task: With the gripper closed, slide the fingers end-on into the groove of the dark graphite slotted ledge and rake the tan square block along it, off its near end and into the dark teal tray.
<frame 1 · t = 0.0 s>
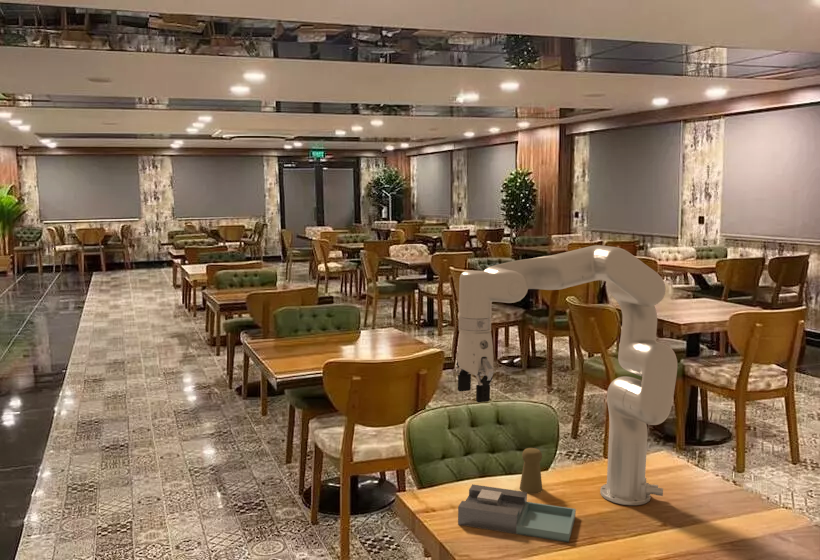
hand: (473, 396, 170), 31 cm above the table, tool pointing down, fingers open, 9 cm apart
slotted ledge: (493, 516, 177), on the table
tan square block: (489, 504, 177), point 3 cm above the table, touching slotted ledge
tray: (546, 525, 173), on the table
brown pepper mill: (531, 489, 194), on the table
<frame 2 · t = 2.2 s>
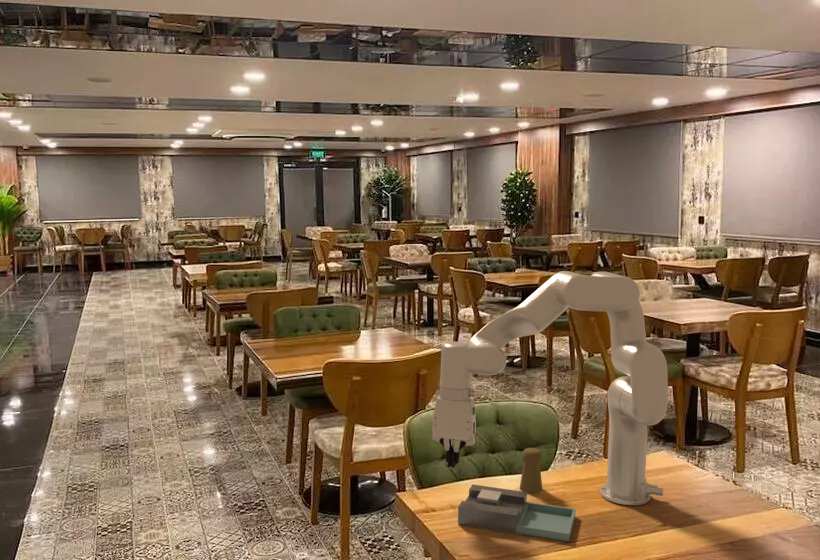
hand: (452, 465, 179), 12 cm above the table, tool pointing down, fingers closed
nothing on the table moved.
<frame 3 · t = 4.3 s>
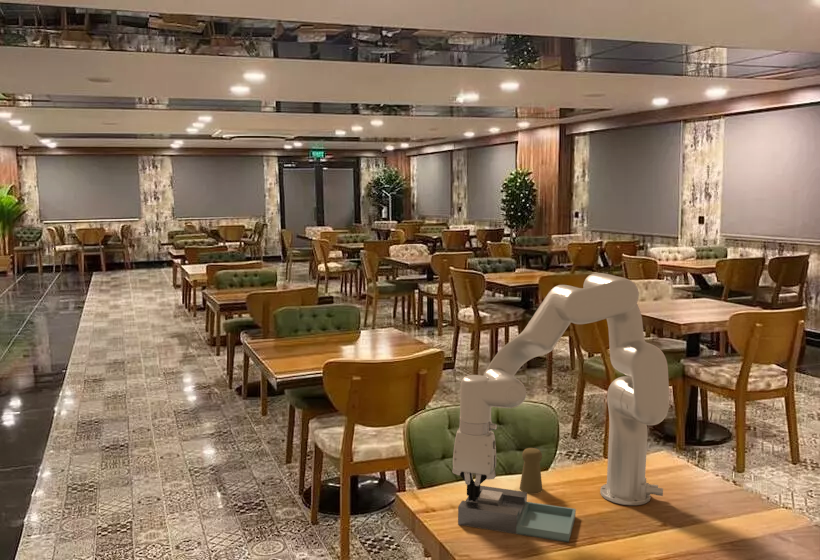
hand: (473, 498, 179), 4 cm above the table, tool pointing down, fingers closed
tan square block: (490, 504, 177), point 3 cm above the table, touching gripper
everything else where it was.
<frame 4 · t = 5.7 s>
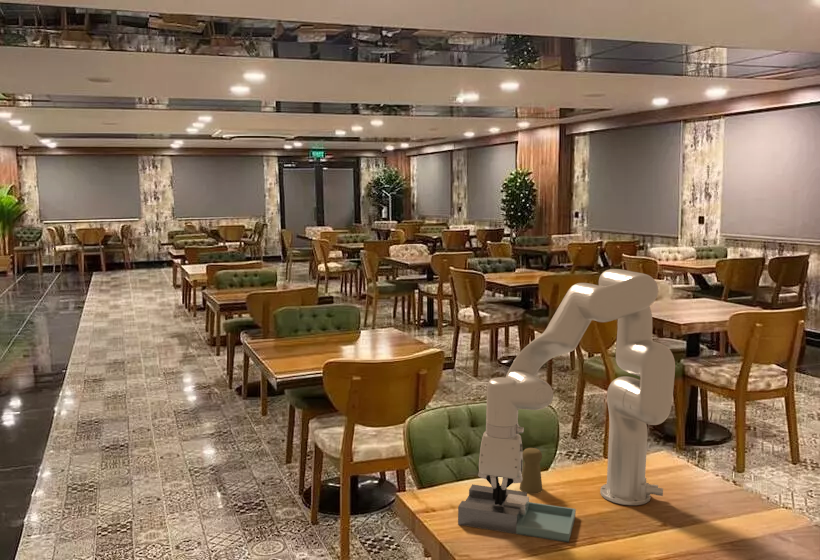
hand: (499, 502, 176), 4 cm above the table, tool pointing down, fingers closed
tan square block: (516, 509, 175), point 3 cm above the table, touching gripper
everything else where it was.
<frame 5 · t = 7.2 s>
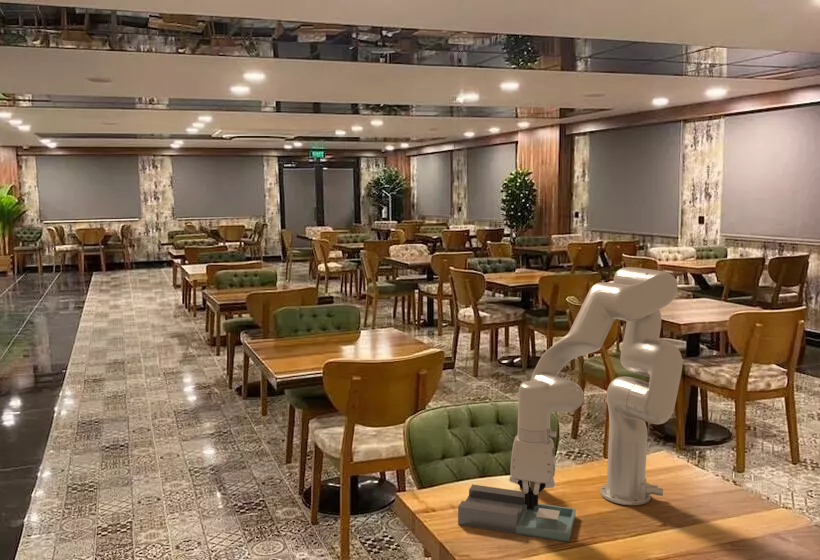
hand: (531, 507, 174), 4 cm above the table, tool pointing down, fingers closed
tan square block: (548, 513, 173), point 3 cm above the table, tilted 180°, touching tray
everything else where it was.
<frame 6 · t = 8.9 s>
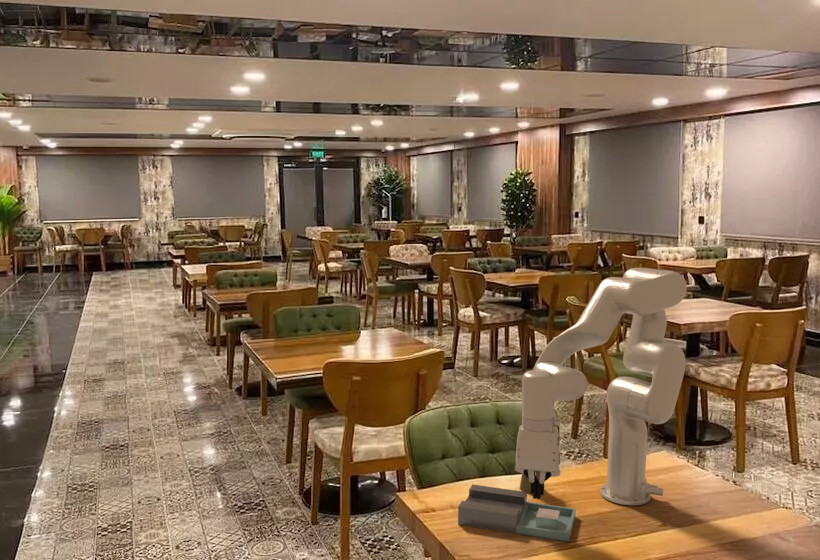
hand: (537, 496, 174), 6 cm above the table, tool pointing down, fingers closed
nothing on the table moved.
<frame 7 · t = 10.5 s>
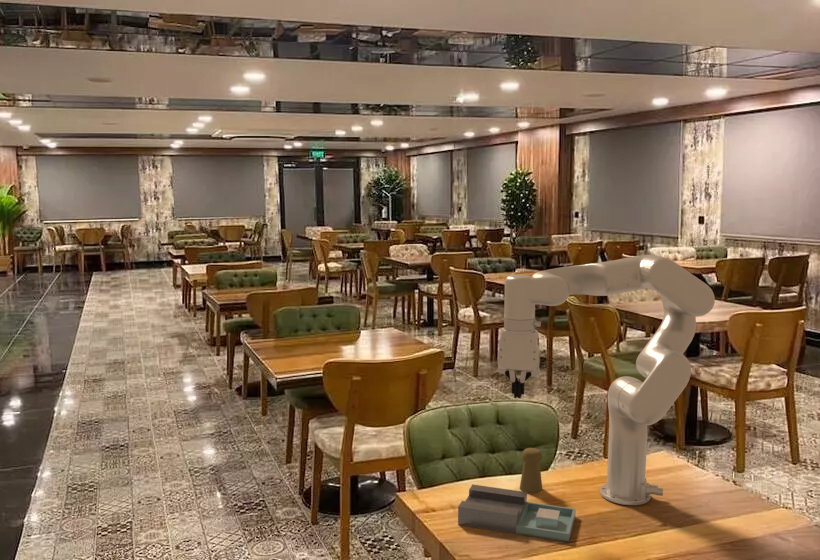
hand: (517, 396, 183), 28 cm above the table, tool pointing down, fingers closed
nothing on the table moved.
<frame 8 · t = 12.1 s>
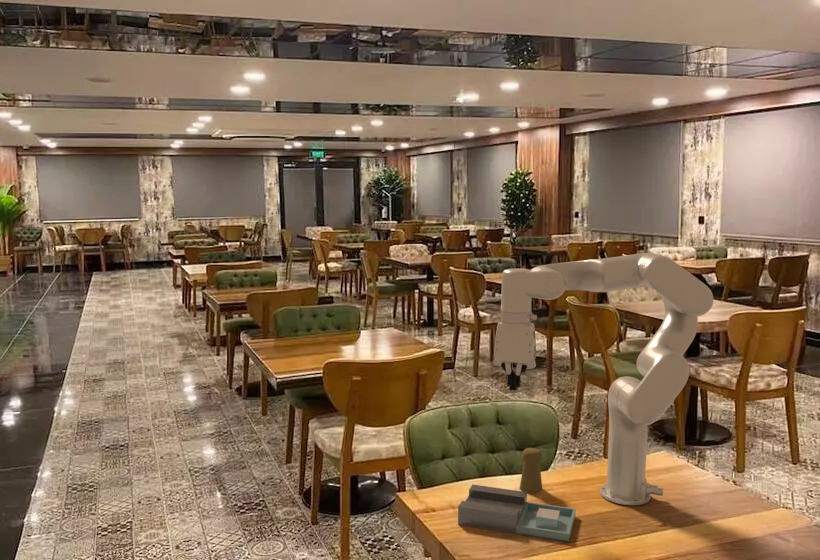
hand: (513, 389, 185), 29 cm above the table, tool pointing down, fingers closed
nothing on the table moved.
at the end: tan square block inside the target area on the tray (0.3 cm from its centre), point 2.9 cm above the tray's base; tan square block moved 14.3 cm from its start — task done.
